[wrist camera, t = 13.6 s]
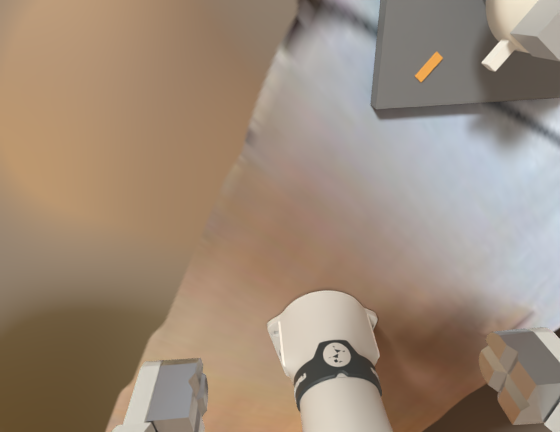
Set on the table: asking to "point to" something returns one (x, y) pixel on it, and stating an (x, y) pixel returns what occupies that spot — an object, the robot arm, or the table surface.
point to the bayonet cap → (523, 29)
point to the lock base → (449, 58)
